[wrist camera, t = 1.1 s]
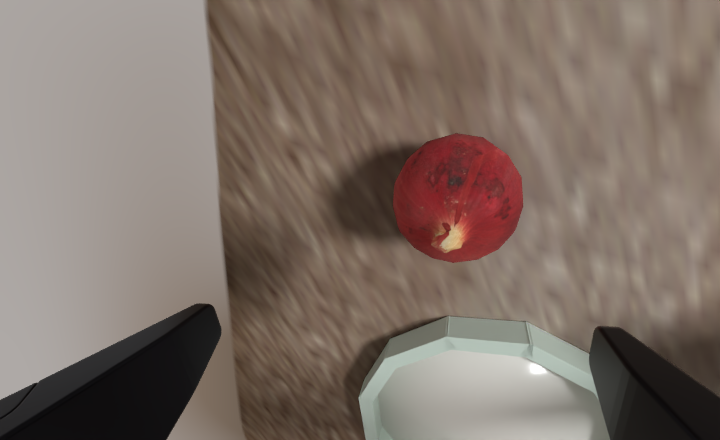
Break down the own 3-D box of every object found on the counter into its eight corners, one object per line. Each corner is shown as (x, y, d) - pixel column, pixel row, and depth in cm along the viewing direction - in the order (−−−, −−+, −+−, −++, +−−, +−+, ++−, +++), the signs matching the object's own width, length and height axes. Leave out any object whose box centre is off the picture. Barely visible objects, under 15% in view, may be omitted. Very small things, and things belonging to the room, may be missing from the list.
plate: (678, 480, 24) (694, 513, 22) (445, 507, 32) (443, 533, 31) (547, 276, 21) (553, 297, 19) (324, 363, 29) (315, 383, 27)
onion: (414, 115, 19) (381, 149, 12) (527, 129, 18) (562, 176, 11) (400, 213, 22) (366, 287, 15) (499, 231, 21) (512, 322, 14)
